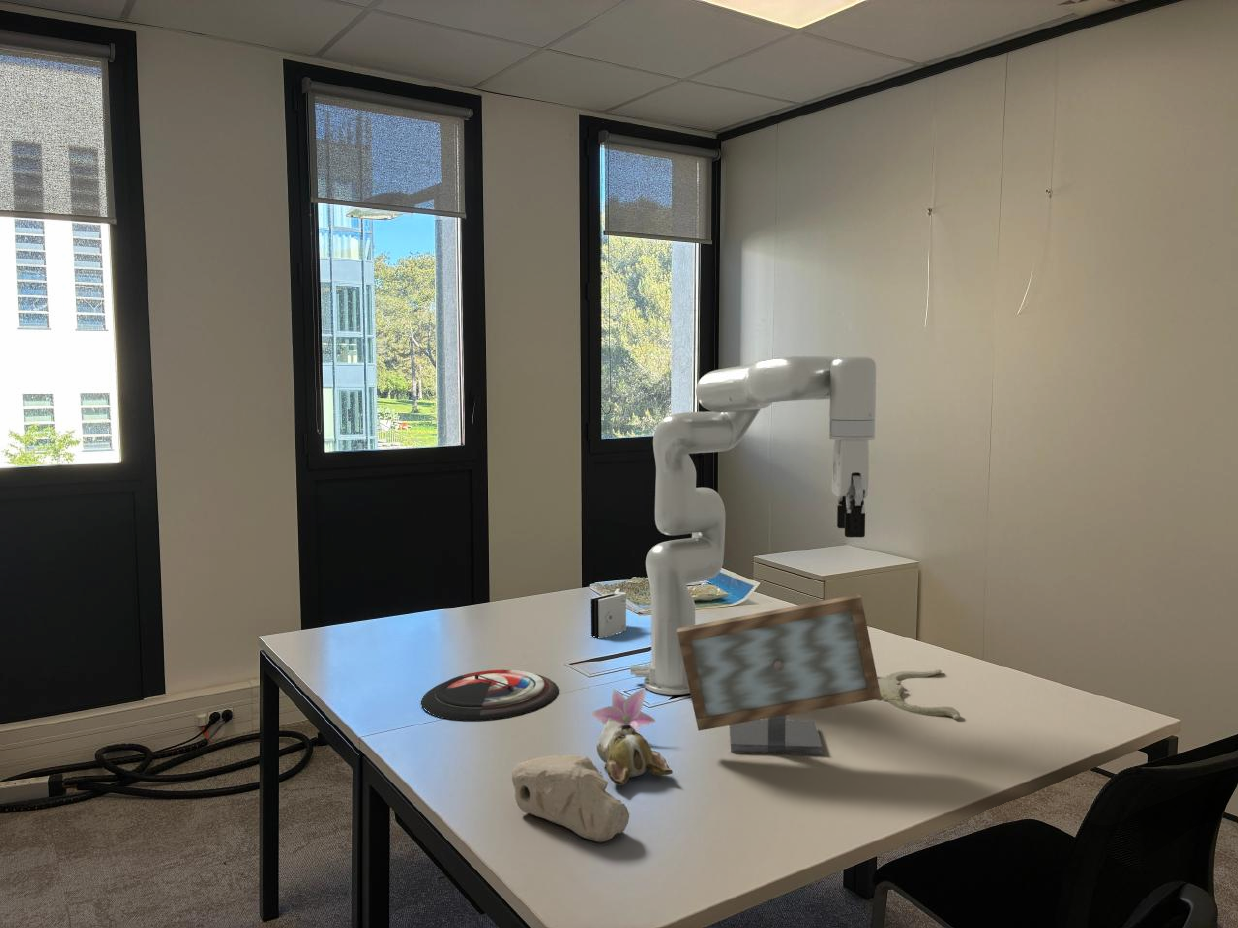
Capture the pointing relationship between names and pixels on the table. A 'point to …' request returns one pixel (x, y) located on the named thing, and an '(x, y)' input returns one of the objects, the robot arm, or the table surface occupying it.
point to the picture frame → (779, 662)
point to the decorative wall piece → (891, 694)
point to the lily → (625, 710)
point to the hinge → (608, 614)
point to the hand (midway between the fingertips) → (850, 532)
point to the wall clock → (489, 695)
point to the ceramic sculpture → (628, 753)
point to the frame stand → (776, 737)
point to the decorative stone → (569, 795)
